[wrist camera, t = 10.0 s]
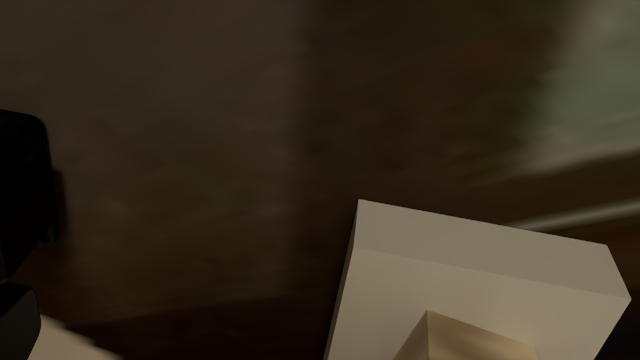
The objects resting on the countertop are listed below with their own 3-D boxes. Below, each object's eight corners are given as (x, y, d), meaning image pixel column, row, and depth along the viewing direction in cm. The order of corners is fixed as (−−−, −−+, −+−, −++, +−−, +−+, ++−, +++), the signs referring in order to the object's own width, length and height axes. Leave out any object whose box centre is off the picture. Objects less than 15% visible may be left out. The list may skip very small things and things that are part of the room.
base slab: (323, 359, 29) (315, 413, 26) (358, 199, 23) (353, 247, 21) (522, 397, 29) (533, 454, 26) (606, 244, 23) (631, 299, 21)
